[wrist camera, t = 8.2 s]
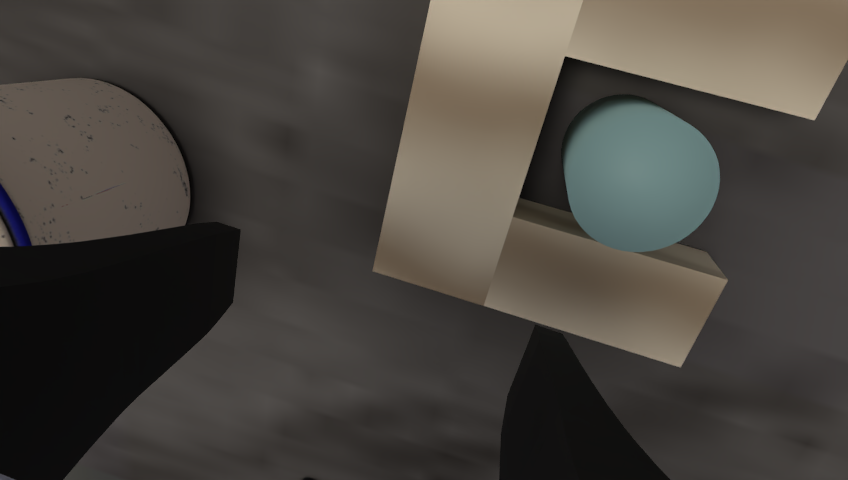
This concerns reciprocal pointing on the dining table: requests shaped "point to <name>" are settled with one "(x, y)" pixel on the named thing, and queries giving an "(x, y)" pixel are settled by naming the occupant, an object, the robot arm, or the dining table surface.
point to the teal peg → (637, 174)
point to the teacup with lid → (85, 164)
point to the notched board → (518, 134)
